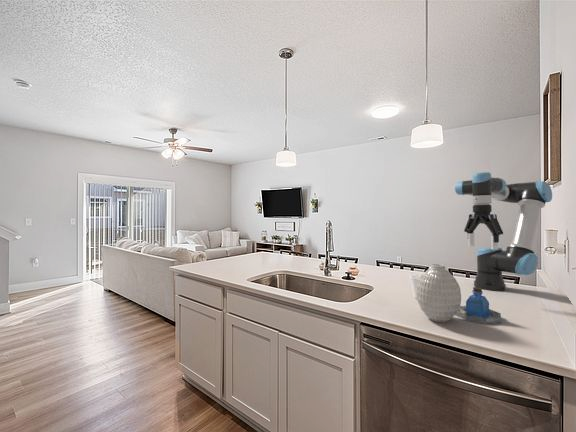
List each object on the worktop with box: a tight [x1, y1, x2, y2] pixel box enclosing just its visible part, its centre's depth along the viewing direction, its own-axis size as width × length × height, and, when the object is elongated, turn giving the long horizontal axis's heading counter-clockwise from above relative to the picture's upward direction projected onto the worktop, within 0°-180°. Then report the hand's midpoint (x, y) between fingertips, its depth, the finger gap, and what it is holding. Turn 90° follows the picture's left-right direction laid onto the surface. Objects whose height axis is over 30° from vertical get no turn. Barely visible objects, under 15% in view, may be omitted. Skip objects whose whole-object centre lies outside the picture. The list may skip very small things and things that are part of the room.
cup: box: [409, 274, 422, 300], centre depth 142 cm, size 10×10×11 cm
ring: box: [454, 305, 502, 325], centre depth 117 cm, size 16×16×3 cm
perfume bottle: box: [465, 286, 490, 316], centre depth 117 cm, size 6×6×12 cm
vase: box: [416, 263, 462, 323], centre depth 114 cm, size 16×16×22 cm
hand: (482, 247), depth 137 cm, fingers open, 13 cm apart
